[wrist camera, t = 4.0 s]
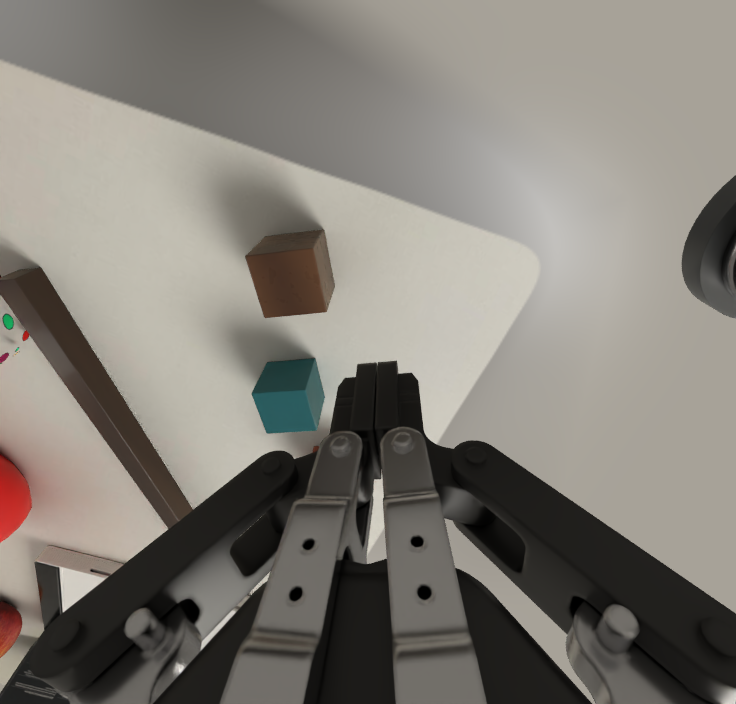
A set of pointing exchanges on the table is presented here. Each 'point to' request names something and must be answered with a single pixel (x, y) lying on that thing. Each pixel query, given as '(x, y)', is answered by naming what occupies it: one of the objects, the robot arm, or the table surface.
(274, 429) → the block teal
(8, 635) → the fruit
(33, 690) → the box
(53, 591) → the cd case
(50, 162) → the table surface
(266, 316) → the block walnut
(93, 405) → the rail
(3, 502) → the teapot
